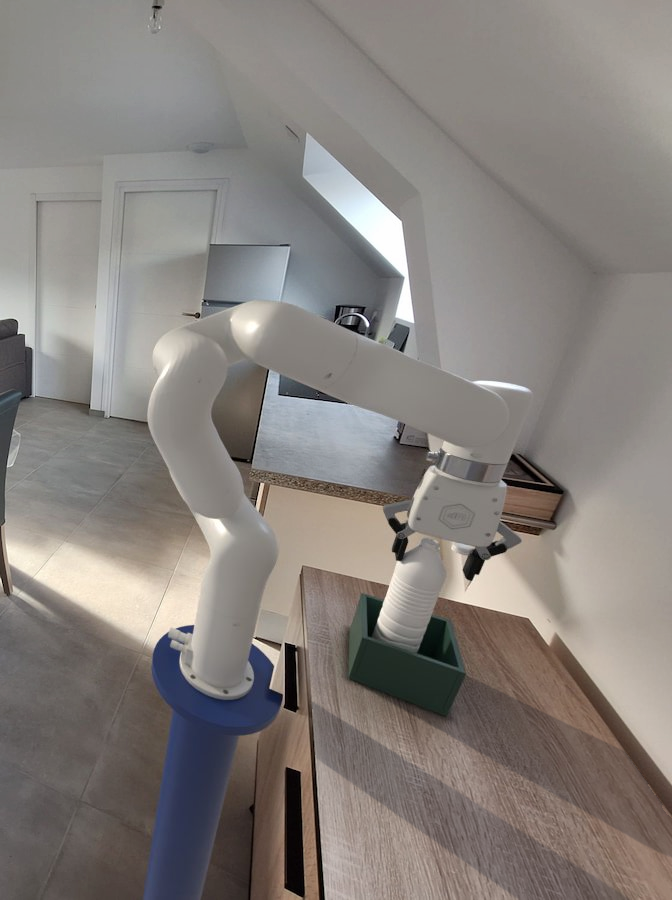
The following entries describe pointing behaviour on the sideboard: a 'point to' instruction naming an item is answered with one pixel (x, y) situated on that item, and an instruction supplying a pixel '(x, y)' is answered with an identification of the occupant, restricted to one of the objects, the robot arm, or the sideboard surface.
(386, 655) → the tote
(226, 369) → the robot arm
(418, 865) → the sideboard surface
